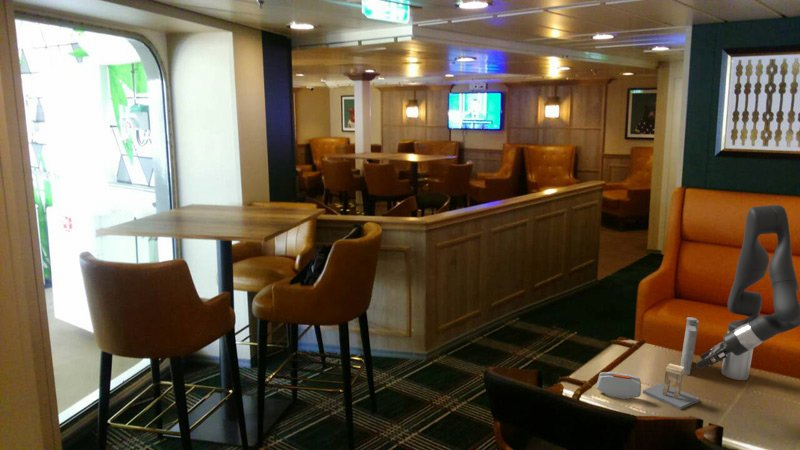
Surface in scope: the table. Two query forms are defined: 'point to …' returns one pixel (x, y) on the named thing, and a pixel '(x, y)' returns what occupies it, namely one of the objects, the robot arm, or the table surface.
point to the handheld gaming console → (619, 385)
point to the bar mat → (671, 396)
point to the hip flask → (689, 344)
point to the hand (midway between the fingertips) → (699, 362)
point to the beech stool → (673, 379)
